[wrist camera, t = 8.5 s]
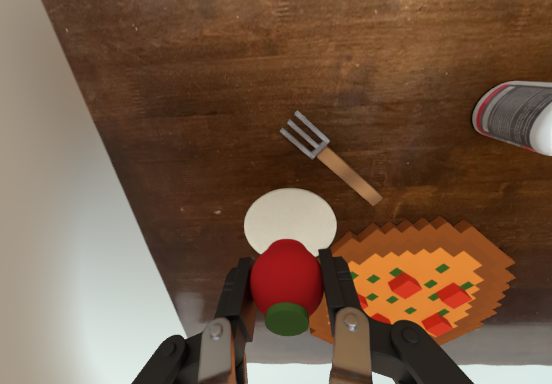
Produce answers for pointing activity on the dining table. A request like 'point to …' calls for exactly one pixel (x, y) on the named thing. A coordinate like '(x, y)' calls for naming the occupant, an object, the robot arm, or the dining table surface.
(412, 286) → the pizza
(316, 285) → the strawberry
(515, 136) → the pill bottle
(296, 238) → the plate
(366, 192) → the fork
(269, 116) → the dining table surface
